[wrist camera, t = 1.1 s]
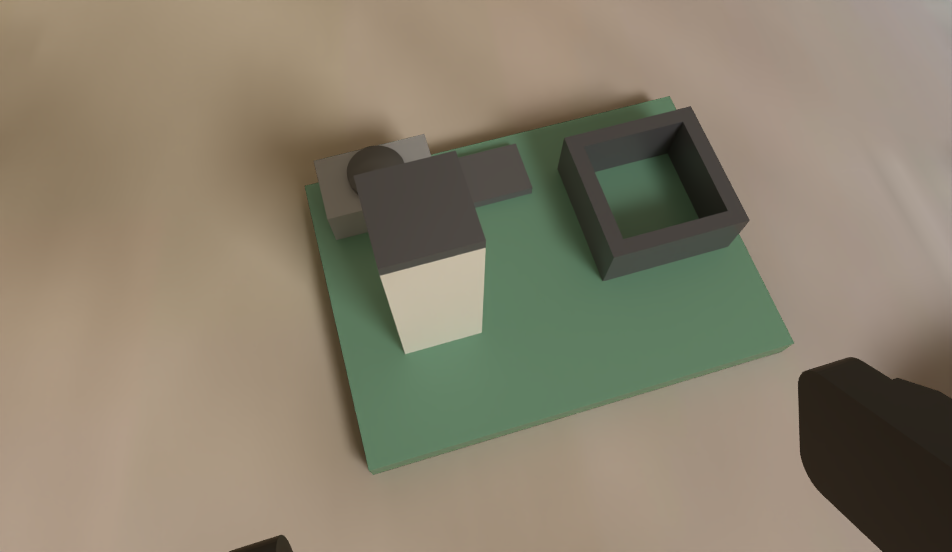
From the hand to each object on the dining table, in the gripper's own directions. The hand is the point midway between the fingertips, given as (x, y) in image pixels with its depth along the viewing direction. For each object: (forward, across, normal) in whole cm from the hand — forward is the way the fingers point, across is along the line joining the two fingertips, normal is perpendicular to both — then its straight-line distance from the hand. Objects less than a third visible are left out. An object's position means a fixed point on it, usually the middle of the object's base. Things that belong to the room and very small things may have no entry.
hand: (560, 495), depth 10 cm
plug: (+24, 0, +7) cm, 25 cm away
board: (+25, -6, +8) cm, 27 cm away
